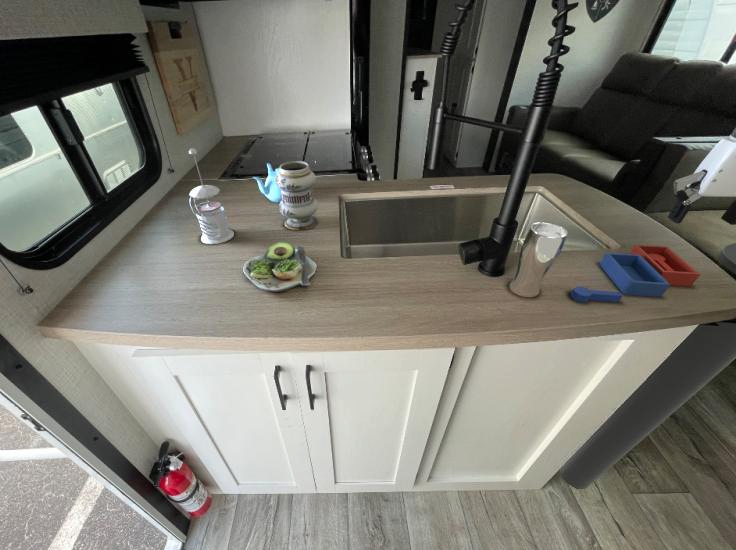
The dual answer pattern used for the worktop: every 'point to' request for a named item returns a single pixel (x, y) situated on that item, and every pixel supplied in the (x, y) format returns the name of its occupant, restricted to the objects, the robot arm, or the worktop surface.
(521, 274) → the beer glass
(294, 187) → the apothecary jar
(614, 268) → the blue bin
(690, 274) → the red bin
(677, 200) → the robot arm
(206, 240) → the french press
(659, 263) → the red spoon
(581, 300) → the blue spoon
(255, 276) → the salad plate
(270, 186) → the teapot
